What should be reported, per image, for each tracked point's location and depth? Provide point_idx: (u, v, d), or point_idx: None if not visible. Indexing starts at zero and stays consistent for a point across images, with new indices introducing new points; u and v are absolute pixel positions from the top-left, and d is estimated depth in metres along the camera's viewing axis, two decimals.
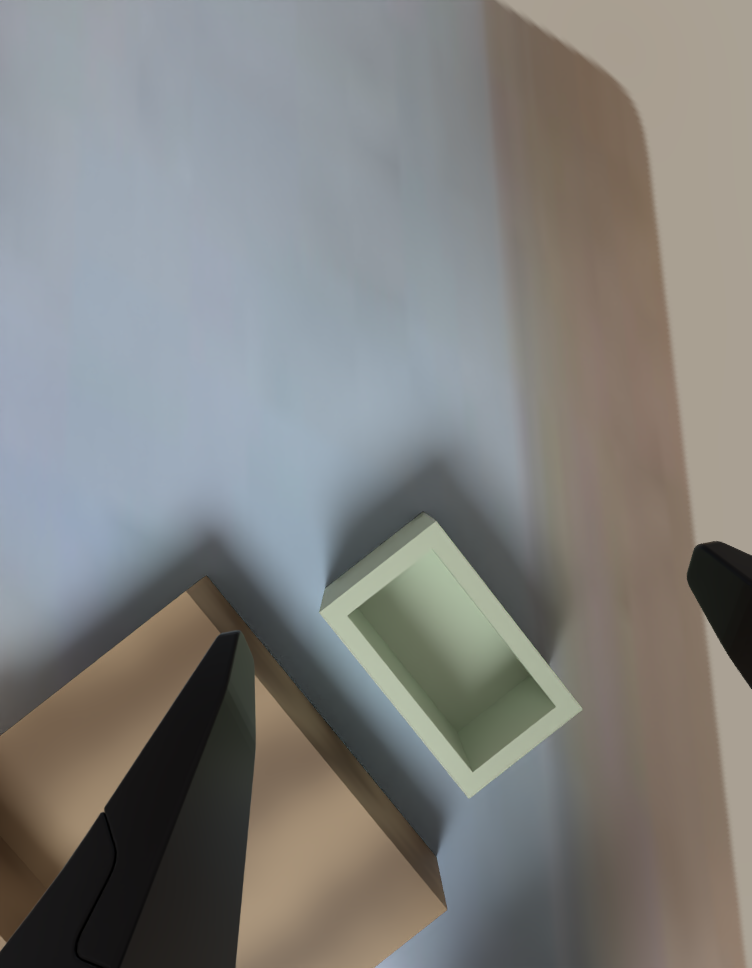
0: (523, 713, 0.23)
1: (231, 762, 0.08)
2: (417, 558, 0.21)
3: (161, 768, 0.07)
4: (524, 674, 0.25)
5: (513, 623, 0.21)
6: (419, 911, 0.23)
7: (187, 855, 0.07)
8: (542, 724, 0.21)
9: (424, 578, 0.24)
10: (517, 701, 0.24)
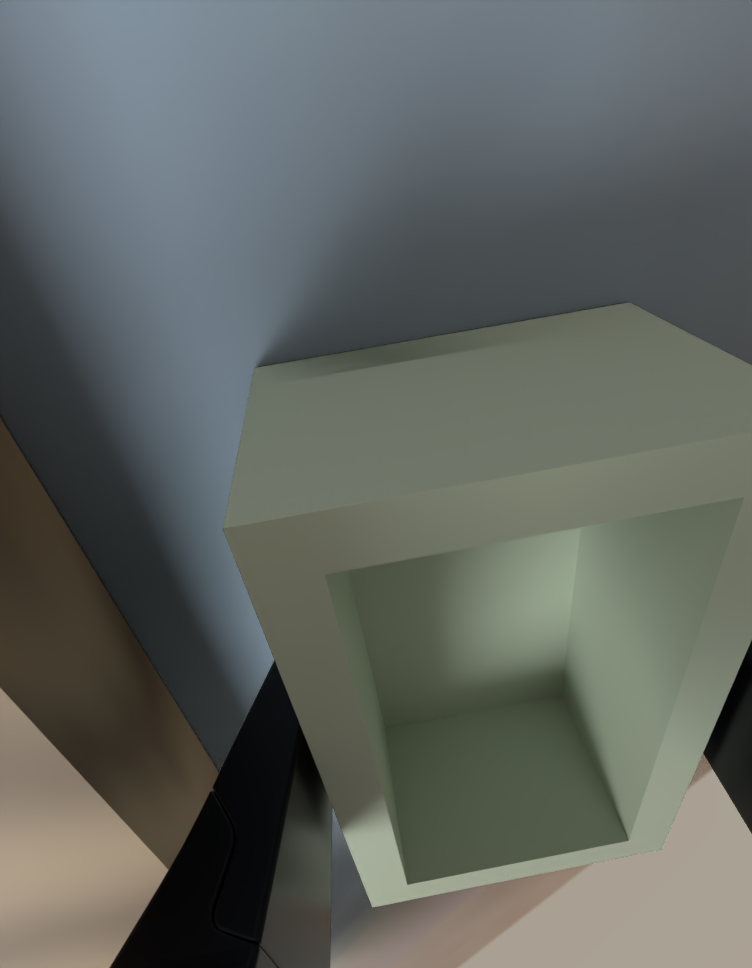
0: (543, 796, 0.11)
1: None
2: (677, 505, 0.05)
3: (264, 748, 0.07)
4: (553, 691, 0.13)
5: (710, 723, 0.08)
6: None
7: (297, 833, 0.07)
8: (583, 855, 0.10)
9: None
10: (528, 748, 0.12)
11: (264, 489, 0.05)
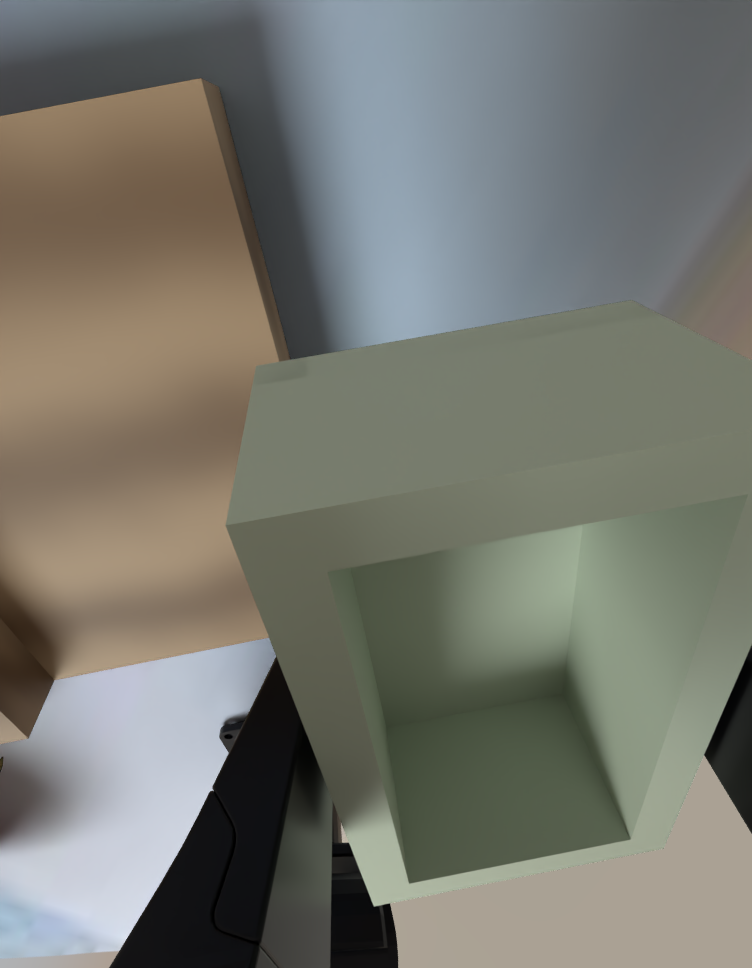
0: (545, 795, 0.11)
1: None
2: (680, 502, 0.05)
3: (264, 749, 0.07)
4: (555, 690, 0.13)
5: (712, 721, 0.08)
6: None
7: (297, 834, 0.07)
8: (584, 854, 0.10)
9: None
10: (530, 747, 0.12)
11: (267, 486, 0.05)
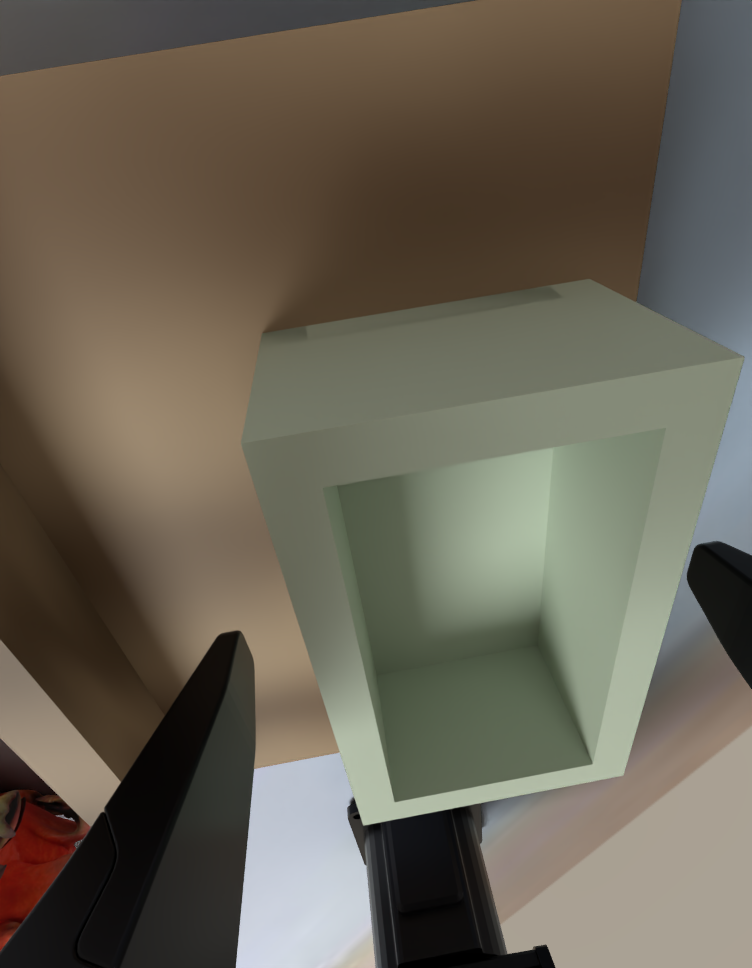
0: (518, 729, 0.12)
1: (231, 762, 0.08)
2: (610, 433, 0.07)
3: (161, 768, 0.07)
4: (530, 641, 0.14)
5: (656, 644, 0.09)
6: None
7: (187, 855, 0.07)
8: (552, 777, 0.11)
9: None
10: (506, 690, 0.13)
11: (273, 417, 0.06)
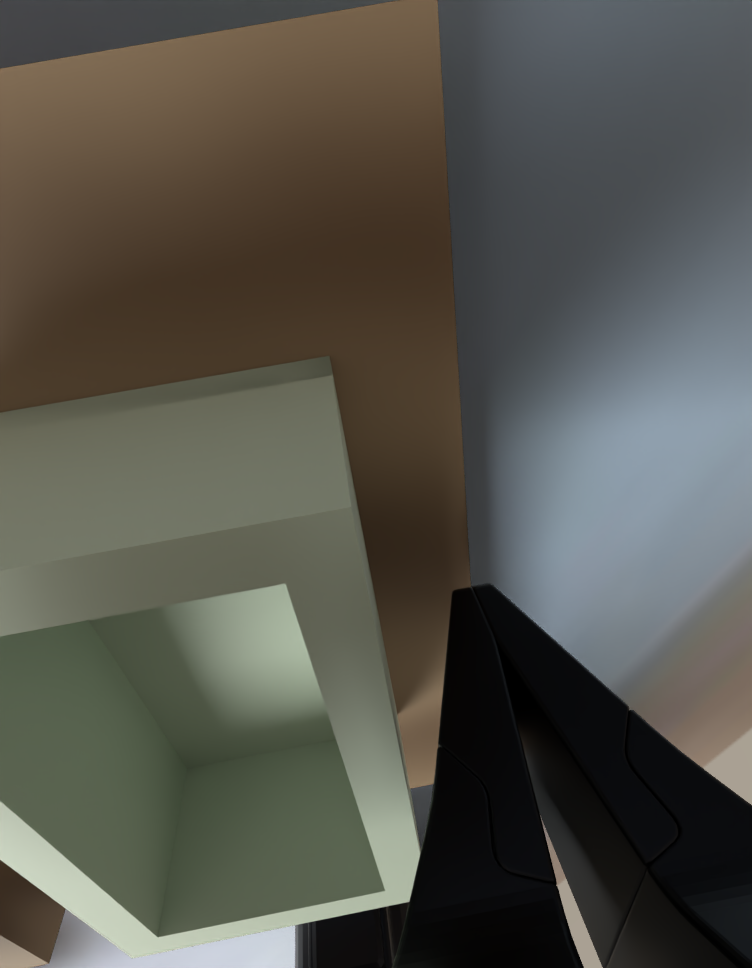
0: (317, 842, 0.11)
1: None
2: (211, 592, 0.05)
3: (478, 707, 0.07)
4: None
5: (401, 785, 0.08)
6: None
7: None
8: (341, 905, 0.10)
9: None
10: (319, 790, 0.12)
11: None
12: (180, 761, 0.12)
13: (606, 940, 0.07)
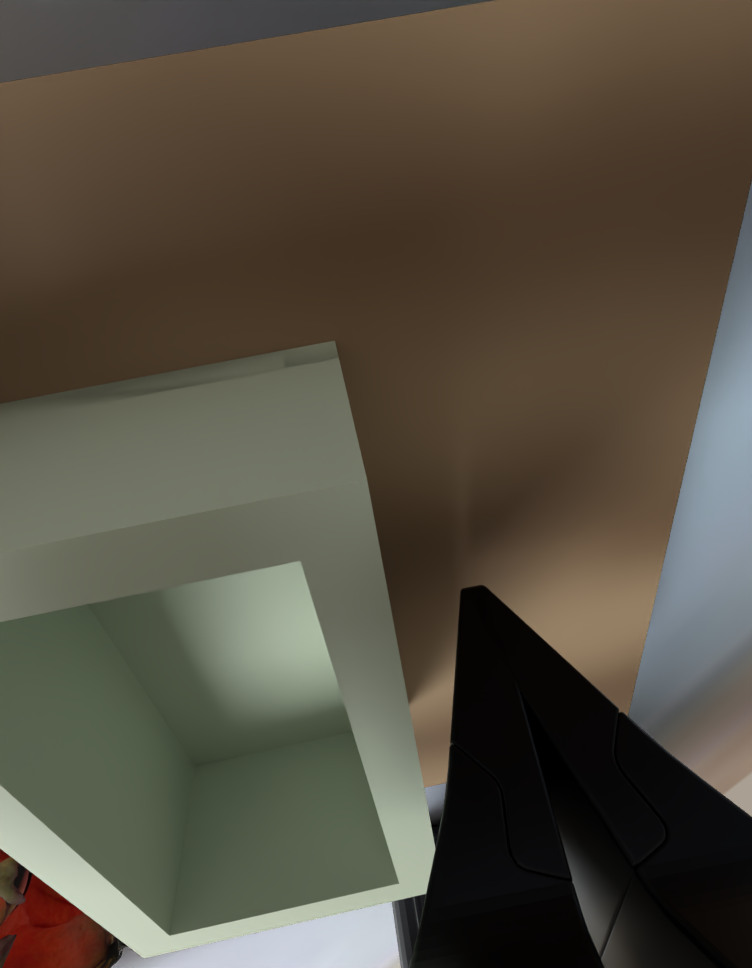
0: (329, 836, 0.11)
1: None
2: (225, 571, 0.05)
3: (489, 705, 0.07)
4: None
5: (415, 771, 0.08)
6: None
7: None
8: (354, 899, 0.10)
9: None
10: (329, 785, 0.12)
11: None
12: (188, 758, 0.12)
13: (596, 942, 0.07)
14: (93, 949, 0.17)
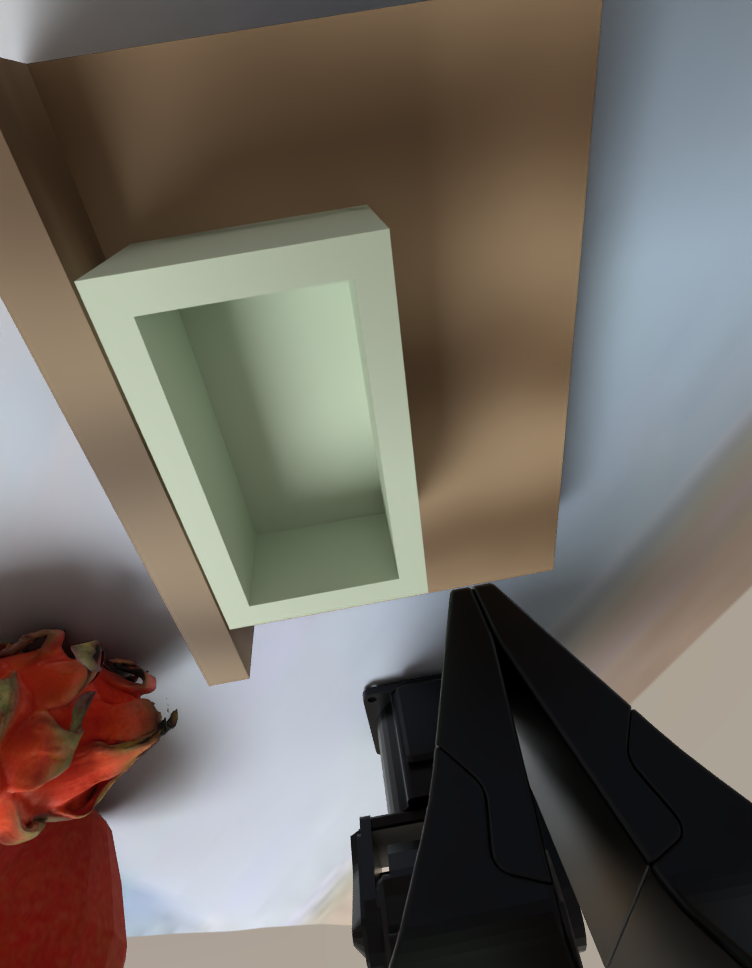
0: (352, 562, 0.16)
1: None
2: (317, 282, 0.10)
3: (475, 708, 0.07)
4: (378, 509, 0.18)
5: (411, 462, 0.13)
6: (530, 561, 0.21)
7: None
8: (369, 590, 0.15)
9: (312, 320, 0.14)
10: (351, 540, 0.17)
11: (102, 271, 0.10)
12: (253, 526, 0.17)
13: (608, 940, 0.07)
14: (147, 721, 0.22)
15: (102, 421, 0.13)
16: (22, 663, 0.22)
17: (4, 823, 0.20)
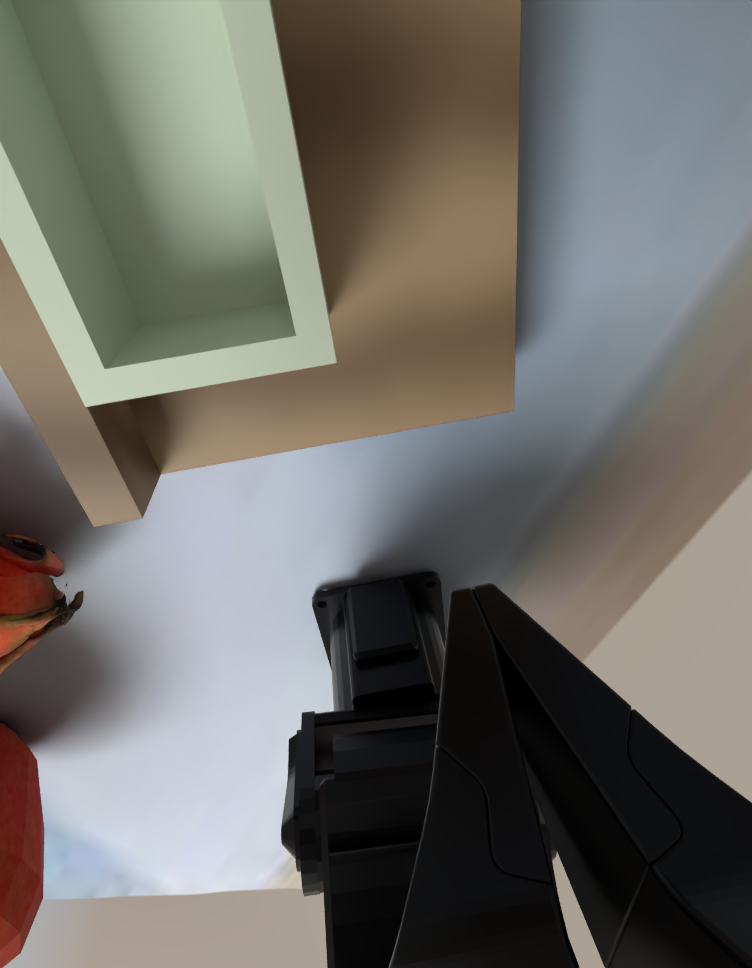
0: (244, 331, 0.13)
1: None
2: None
3: (475, 708, 0.07)
4: None
5: (288, 126, 0.10)
6: (485, 397, 0.18)
7: None
8: (259, 352, 0.12)
9: None
10: (250, 318, 0.14)
11: None
12: (133, 311, 0.14)
13: (608, 939, 0.07)
14: (42, 597, 0.19)
15: None
16: None
17: None
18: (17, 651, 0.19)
